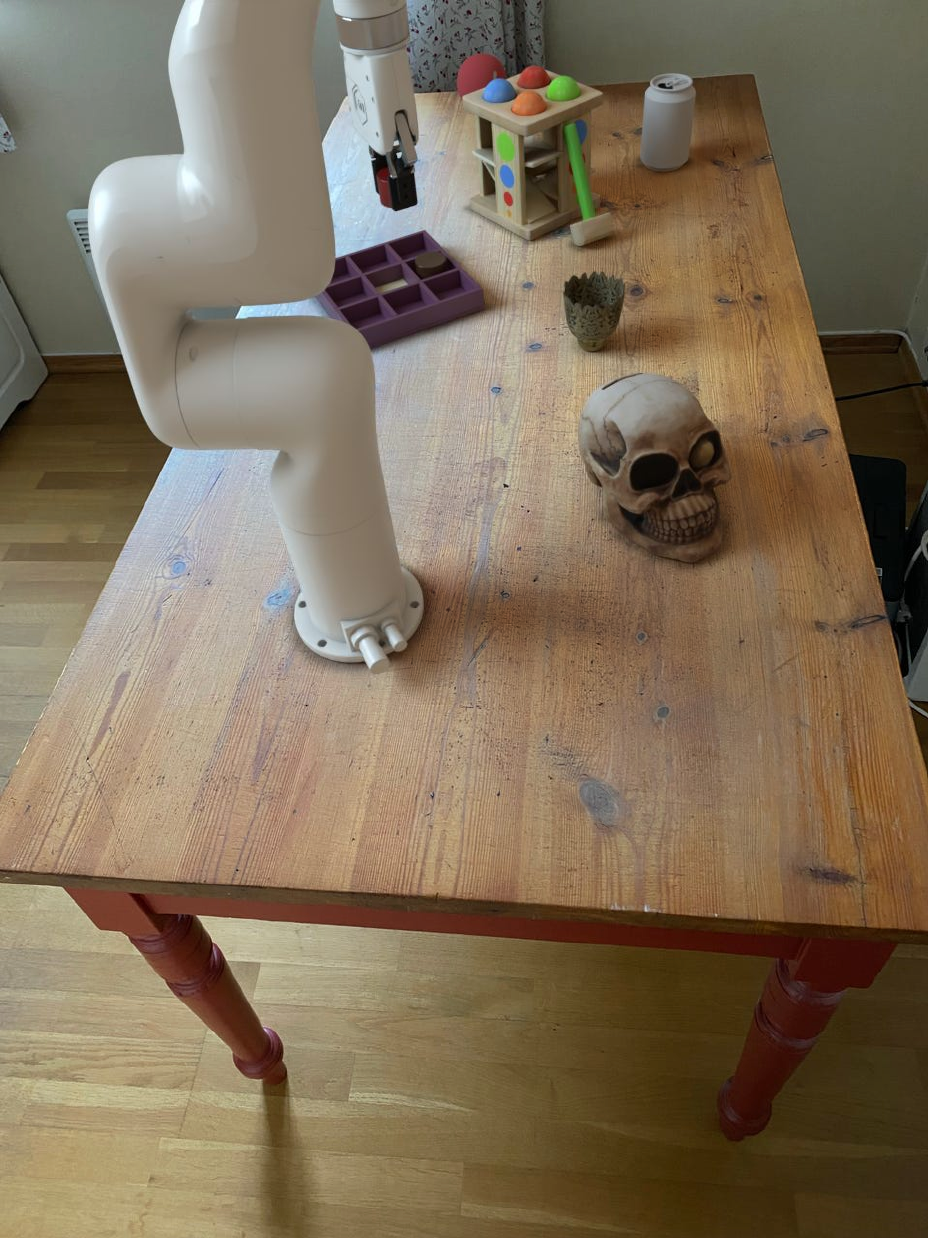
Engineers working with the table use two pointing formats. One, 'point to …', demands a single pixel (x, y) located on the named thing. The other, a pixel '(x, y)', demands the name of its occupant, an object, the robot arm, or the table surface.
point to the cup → (593, 308)
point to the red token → (384, 187)
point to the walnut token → (430, 264)
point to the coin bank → (655, 464)
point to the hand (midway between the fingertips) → (396, 197)
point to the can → (667, 122)
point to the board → (397, 290)
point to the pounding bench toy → (537, 155)
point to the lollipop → (478, 73)
